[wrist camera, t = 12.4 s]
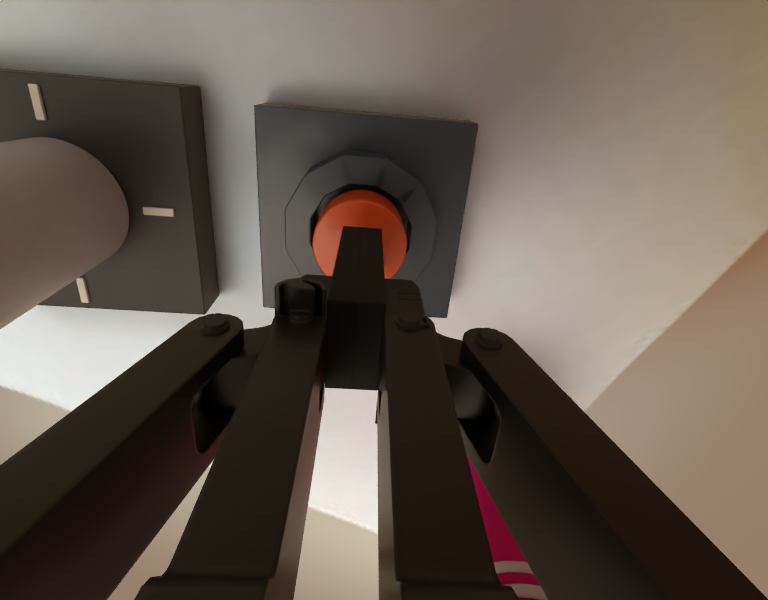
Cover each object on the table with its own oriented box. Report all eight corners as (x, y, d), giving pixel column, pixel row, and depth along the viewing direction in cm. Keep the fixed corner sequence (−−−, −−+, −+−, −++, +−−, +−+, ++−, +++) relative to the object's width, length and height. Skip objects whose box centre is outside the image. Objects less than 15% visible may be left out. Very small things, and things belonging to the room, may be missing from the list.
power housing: (271, 290, 26) (255, 323, 22) (264, 102, 21) (242, 106, 18) (441, 300, 26) (452, 335, 23) (468, 120, 22) (488, 127, 18)
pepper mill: (380, 422, 30) (393, 919, 12) (441, 345, 28) (571, 834, 10) (465, 462, 32) (584, 945, 14) (529, 393, 29) (777, 879, 11)
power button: (317, 269, 21) (311, 286, 19) (318, 185, 19) (312, 196, 18) (399, 274, 21) (401, 292, 20) (407, 192, 20) (411, 203, 18)
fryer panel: (4, 281, 25) (-35, 302, 23) (-67, 62, 20) (-126, 59, 18) (219, 294, 26) (204, 316, 23) (200, 85, 21) (178, 86, 18)
